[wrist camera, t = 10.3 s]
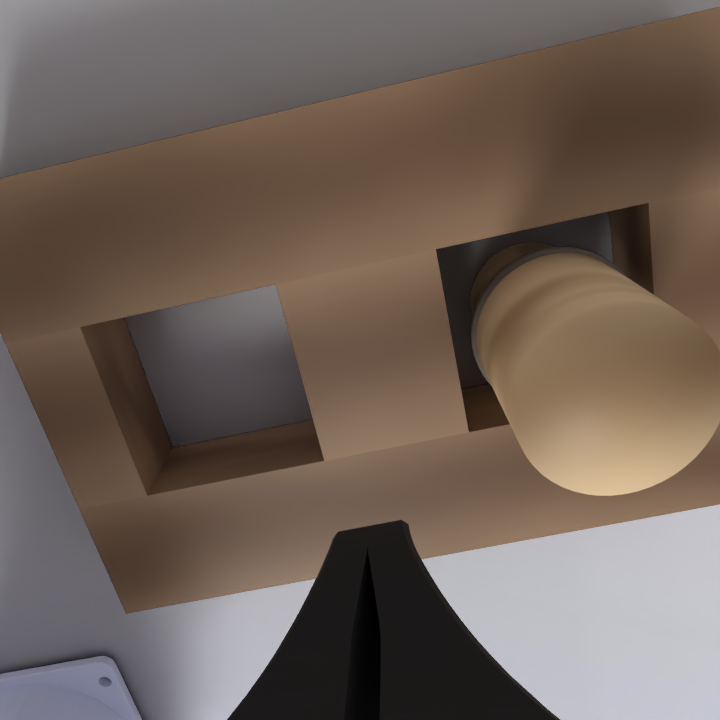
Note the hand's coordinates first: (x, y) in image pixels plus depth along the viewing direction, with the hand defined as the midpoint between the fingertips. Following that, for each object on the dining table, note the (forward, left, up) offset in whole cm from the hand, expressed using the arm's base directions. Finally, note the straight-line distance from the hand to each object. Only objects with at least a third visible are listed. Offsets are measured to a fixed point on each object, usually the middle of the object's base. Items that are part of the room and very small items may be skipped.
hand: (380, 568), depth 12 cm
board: (+1, 0, -10) cm, 10 cm away
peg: (+1, -5, -10) cm, 12 cm away
